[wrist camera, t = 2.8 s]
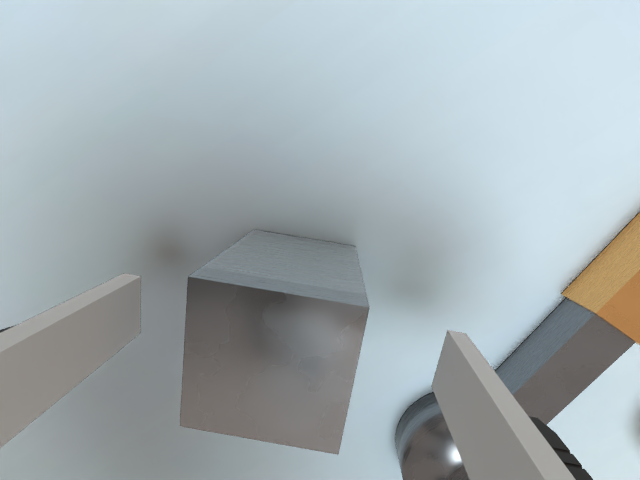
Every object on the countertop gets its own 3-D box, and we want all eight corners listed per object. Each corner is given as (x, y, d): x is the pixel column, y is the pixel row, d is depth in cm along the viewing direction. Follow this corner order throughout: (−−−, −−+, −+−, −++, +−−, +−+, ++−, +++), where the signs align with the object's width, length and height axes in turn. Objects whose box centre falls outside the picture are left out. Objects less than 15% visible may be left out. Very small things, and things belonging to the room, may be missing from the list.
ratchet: (371, 448, 21) (386, 571, 14) (642, 152, 15) (851, 140, 9) (463, 504, 21) (516, 646, 15) (752, 238, 16) (1021, 282, 10)
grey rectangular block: (244, 321, 19) (179, 426, 11) (254, 229, 18) (188, 276, 10) (338, 337, 19) (338, 454, 11) (355, 246, 17) (369, 307, 10)
